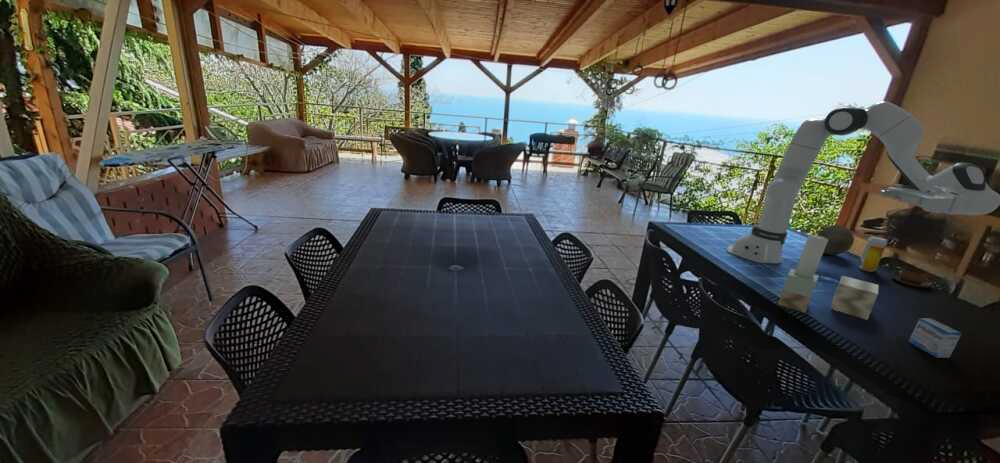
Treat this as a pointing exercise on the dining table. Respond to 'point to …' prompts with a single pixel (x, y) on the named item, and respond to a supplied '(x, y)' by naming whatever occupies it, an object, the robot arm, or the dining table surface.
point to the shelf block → (855, 297)
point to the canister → (811, 256)
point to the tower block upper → (800, 284)
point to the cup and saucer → (913, 277)
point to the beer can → (872, 254)
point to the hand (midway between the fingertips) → (890, 195)
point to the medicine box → (934, 338)
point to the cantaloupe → (837, 239)
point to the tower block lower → (794, 301)
